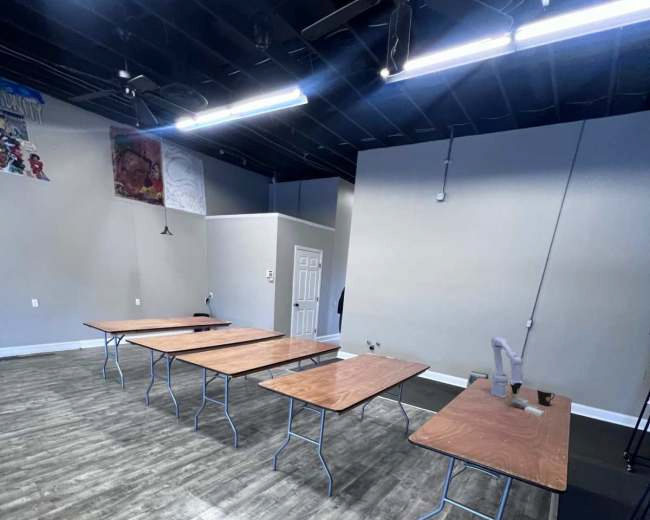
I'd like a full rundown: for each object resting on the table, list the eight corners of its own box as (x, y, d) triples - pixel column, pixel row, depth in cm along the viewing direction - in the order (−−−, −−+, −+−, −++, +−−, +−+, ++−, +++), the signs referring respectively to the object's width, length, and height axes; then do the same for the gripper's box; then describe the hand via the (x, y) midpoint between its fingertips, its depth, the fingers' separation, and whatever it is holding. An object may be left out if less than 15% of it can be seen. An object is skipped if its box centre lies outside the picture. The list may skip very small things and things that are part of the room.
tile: (524, 408, 202) (540, 413, 195) (528, 406, 206) (543, 411, 199) (524, 411, 202) (540, 417, 195) (528, 409, 206) (543, 414, 199)
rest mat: (510, 402, 217) (510, 401, 217) (514, 400, 222) (514, 399, 222) (535, 410, 205) (535, 409, 205) (539, 407, 210) (539, 407, 210)
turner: (509, 397, 210) (510, 387, 210) (512, 395, 214) (513, 386, 214) (525, 403, 202) (526, 393, 203) (528, 401, 206) (529, 391, 206)
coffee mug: (538, 405, 215) (538, 391, 215) (535, 401, 223) (535, 387, 223) (558, 408, 210) (558, 394, 211) (554, 404, 218) (554, 390, 219)
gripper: (518, 377, 204) (518, 397, 202) (526, 374, 212) (525, 393, 211) (507, 374, 209) (506, 393, 208) (515, 371, 218) (514, 390, 217)
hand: (515, 393), depth 210 cm, fingers closed on turner, 2 cm apart
